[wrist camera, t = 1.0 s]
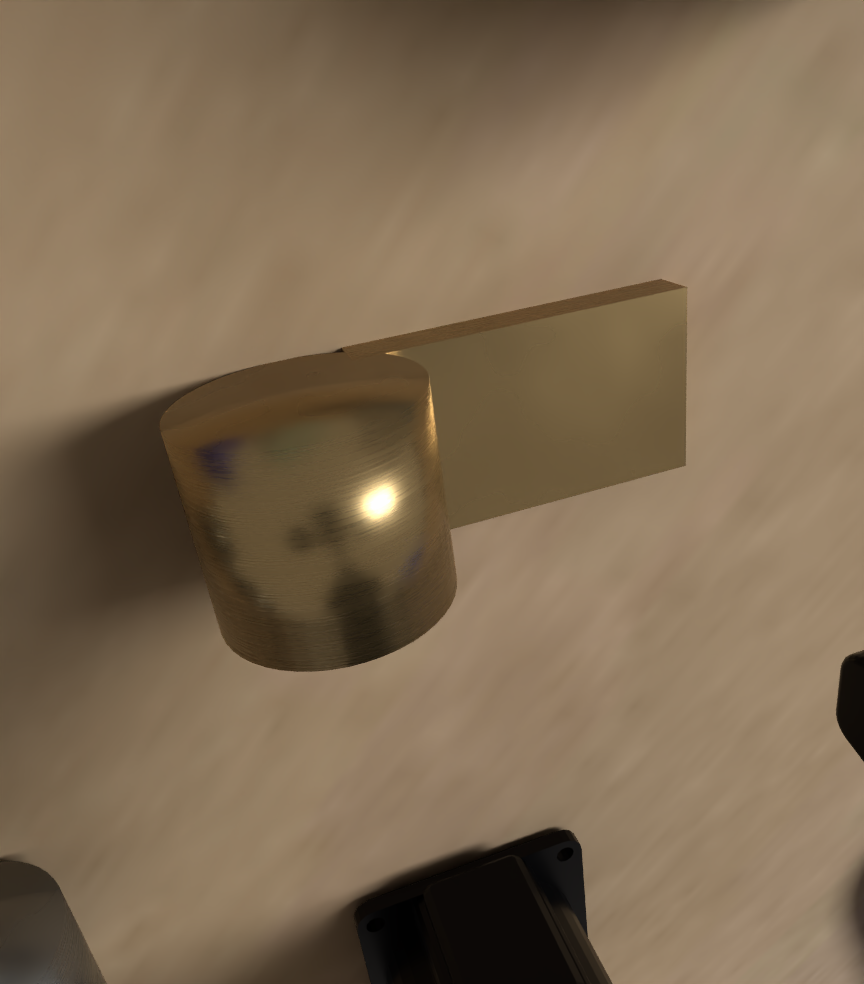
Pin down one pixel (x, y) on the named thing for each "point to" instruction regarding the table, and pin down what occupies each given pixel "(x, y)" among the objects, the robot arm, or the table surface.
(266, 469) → the brass hinge knuckle
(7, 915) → the fixed leaf
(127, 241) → the table surface
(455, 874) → the robot arm
